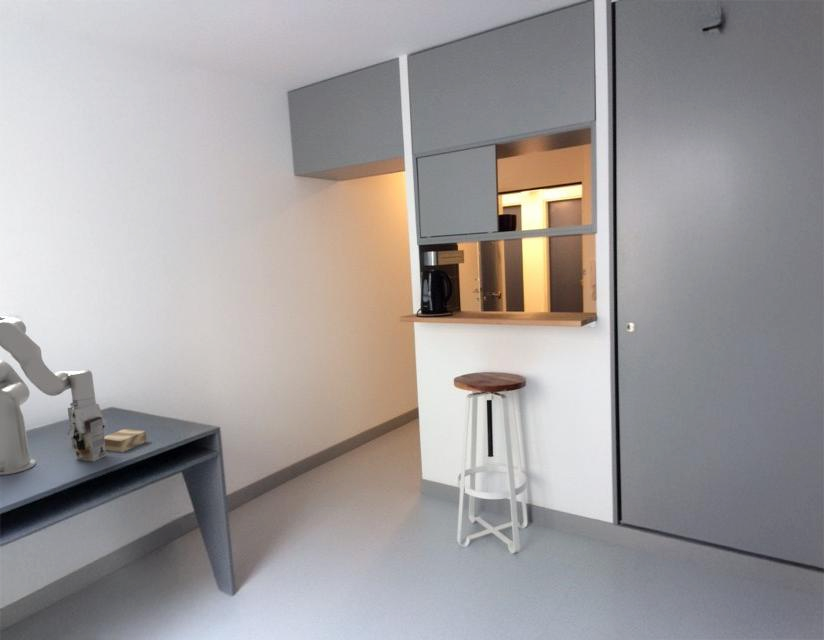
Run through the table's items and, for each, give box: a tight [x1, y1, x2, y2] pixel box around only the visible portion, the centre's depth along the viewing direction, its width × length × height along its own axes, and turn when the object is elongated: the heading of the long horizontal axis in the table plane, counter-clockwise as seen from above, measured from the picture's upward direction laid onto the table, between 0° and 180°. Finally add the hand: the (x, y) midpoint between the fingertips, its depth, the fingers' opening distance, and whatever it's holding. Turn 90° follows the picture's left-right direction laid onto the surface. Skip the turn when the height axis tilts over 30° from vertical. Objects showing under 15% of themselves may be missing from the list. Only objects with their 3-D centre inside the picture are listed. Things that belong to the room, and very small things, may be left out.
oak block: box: [104, 428, 148, 453], centre depth 221 cm, size 12×12×5 cm
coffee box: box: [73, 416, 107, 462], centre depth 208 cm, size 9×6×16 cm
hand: (90, 445), depth 208 cm, fingers closed on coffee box, 6 cm apart
